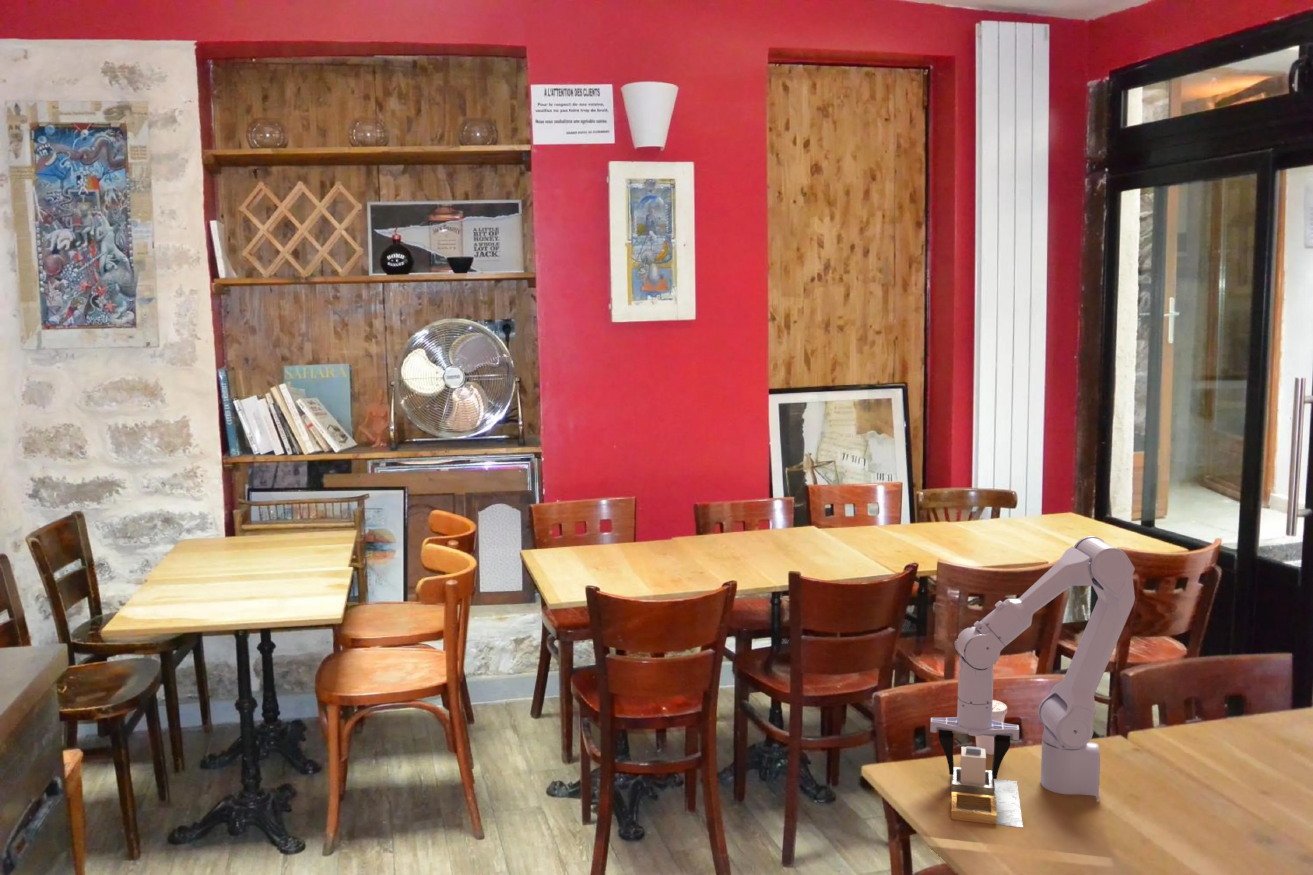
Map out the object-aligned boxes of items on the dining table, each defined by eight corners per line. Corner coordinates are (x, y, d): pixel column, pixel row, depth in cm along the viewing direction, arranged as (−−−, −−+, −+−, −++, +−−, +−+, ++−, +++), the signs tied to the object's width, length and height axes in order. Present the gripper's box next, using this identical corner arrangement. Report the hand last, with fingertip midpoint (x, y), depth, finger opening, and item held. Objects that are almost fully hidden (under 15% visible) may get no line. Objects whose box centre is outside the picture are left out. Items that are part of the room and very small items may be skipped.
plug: (984, 781, 192) (985, 744, 191) (984, 791, 188) (986, 753, 187) (960, 779, 193) (961, 741, 192) (960, 789, 189) (961, 751, 188)
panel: (1016, 786, 192) (1017, 772, 192) (1022, 833, 176) (1023, 818, 176) (951, 779, 195) (951, 766, 195) (951, 825, 179) (951, 810, 179)
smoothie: (1001, 748, 208) (1004, 676, 206) (1009, 762, 202) (1011, 689, 200) (966, 747, 209) (968, 675, 207) (973, 761, 203) (975, 688, 201)
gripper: (930, 703, 187) (928, 779, 189) (1021, 710, 183) (1018, 788, 185) (931, 688, 193) (929, 762, 195) (1018, 695, 190) (1016, 771, 192)
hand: (972, 774), depth 190 cm, fingers open, 6 cm apart
